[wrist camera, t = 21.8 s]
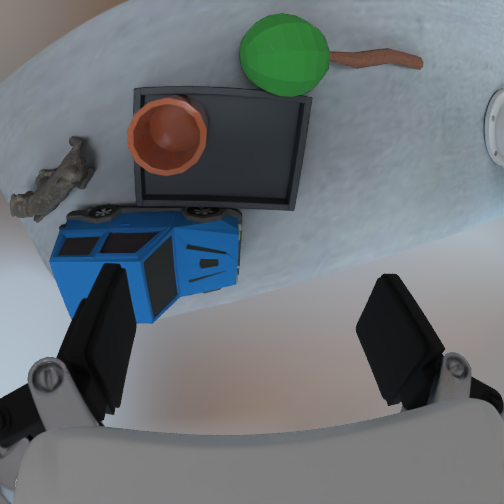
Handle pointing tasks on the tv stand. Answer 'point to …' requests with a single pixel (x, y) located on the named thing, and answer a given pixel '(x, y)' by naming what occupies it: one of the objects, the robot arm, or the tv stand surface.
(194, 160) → the terracotta pot
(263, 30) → the tree
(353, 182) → the tv stand surface
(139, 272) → the toy car
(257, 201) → the tray
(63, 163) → the dog figurine
